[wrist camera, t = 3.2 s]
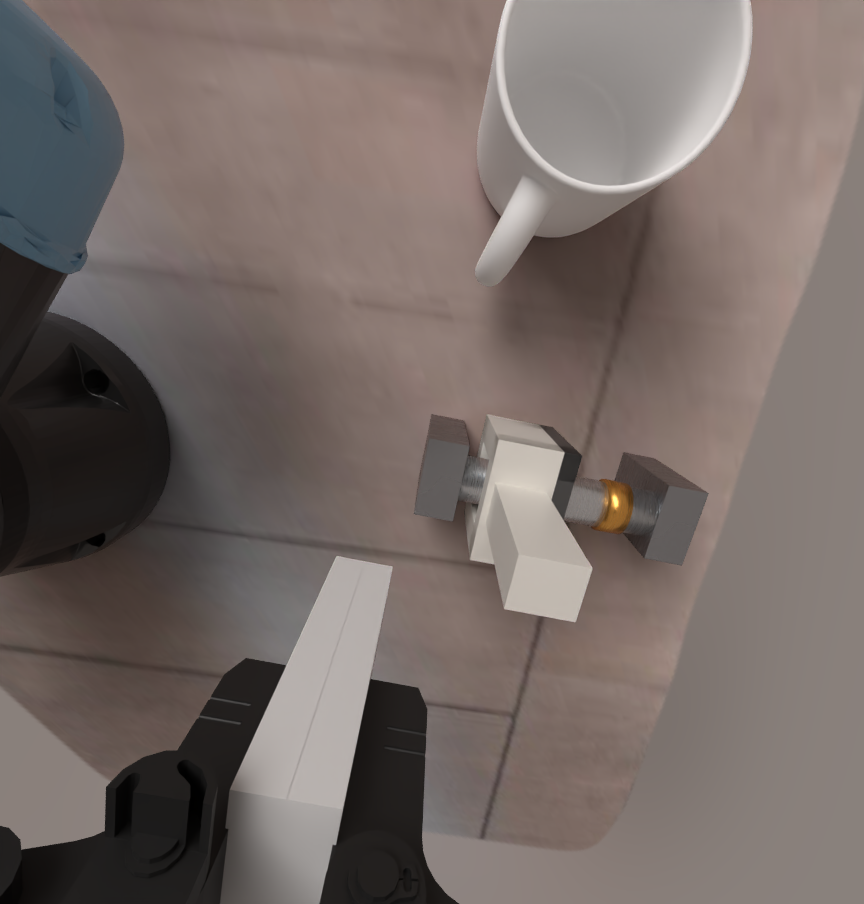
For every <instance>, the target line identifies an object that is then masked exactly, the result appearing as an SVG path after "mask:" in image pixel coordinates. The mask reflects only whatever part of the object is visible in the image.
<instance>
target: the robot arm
mask: <svg viewBox="0 0 864 904" xmlns="http://www.w3.org/2000/svg"><path fill="white" fill-rule="evenodd" d="M123 153H124V136H123V129H122V125H121V122H120V118H119V115H118V112H117V110H116V108H115V105H114V103H113V101H112V99H111V97H110V95H109V94H108V92H107V90H106V89H105V87H104V85H103V84H102V82H101V81H100V80H99V78H98V77H97V76H96V75H95V73H94V72H93V71H92V70H91V69H90V67H89V66H88V65H87V64H86V63H85V62H84V61H83V60H82V59H81V58H80V57H79V56H78V55H77V54H76V53H75V52H74V51H73V50H72V49H71V48H70V47H69V46H68V45H67V44H66V43H65V42H64V41H63V40H62V39H61V38H60V37H59V36H58V35H57V34H56V33H55V32H54V31H53V30H52V29H51V28H50V27H49V26H48V25H47V24H46V23H45V22H44V21H43V20H42V19H41V18H40V17H39V16H38V15H37V14H36V13H35V12H34V11H33V10H31V9H30V8H29V7H28V6H27V5H26V4H25V3H24V2H23V1H22V0H0V576H5V575H9V574H14V573H18V572H22V571H27V570H31V569H36V568H40V567H45V566H49V565H53V564H58V563H62V562H67V561H71V560H75V559H79V558H82V557H85V556H88V555H90V554H93V553H95V552H97V551H99V550H101V549H103V548H105V547H107V546H109V545H110V544H112V543H113V542H115V541H116V540H118V539H119V538H121V537H122V536H124V535H125V534H127V533H128V532H130V531H131V530H132V529H134V528H135V527H136V526H138V525H139V524H140V523H141V522H142V521H143V520H144V519H145V518H146V517H147V516H148V515H149V513H150V512H151V511H152V509H153V508H154V507H155V505H156V503H157V502H158V500H159V498H160V496H161V494H162V491H163V489H164V486H165V483H166V479H167V475H168V470H169V461H170V447H169V437H168V431H167V426H166V422H165V419H164V415H163V413H162V410H161V407H160V405H159V403H158V400H157V398H156V396H155V394H154V392H153V390H152V389H151V387H150V385H149V384H148V382H147V380H146V379H145V378H144V376H143V375H142V373H141V372H140V371H139V369H138V368H137V367H136V366H135V365H134V363H133V362H132V361H131V360H130V359H129V358H128V357H127V356H126V355H125V354H124V353H123V352H122V351H121V350H120V349H119V348H118V347H116V346H115V345H114V344H113V343H112V342H110V341H109V340H108V339H106V338H105V337H104V336H102V335H101V334H99V333H98V332H96V331H94V330H93V329H91V328H89V327H87V326H86V325H84V324H81V323H79V322H77V321H75V320H72V319H70V318H67V317H65V316H61V315H58V314H55V313H51V312H47V311H48V309H49V307H50V305H51V304H52V302H53V300H54V298H55V296H56V295H57V293H58V291H59V289H60V288H61V286H62V284H63V282H64V280H65V279H66V277H67V275H68V274H72V273H74V272H77V271H80V270H81V268H82V267H83V266H84V264H85V262H86V260H87V257H88V254H87V248H86V242H87V240H88V238H89V236H90V233H91V231H92V229H93V227H94V225H95V222H96V220H97V218H98V216H99V214H100V211H101V209H102V207H103V205H104V203H105V201H106V198H107V196H108V194H109V192H110V190H111V187H112V185H113V183H114V181H115V179H116V177H117V174H118V172H119V170H120V167H121V163H122V160H123ZM392 569H393V567H392V566H387V565H382V564H377V563H371V562H366V561H361V560H356V559H350V558H345V557H340V556H336V558H335V560H334V562H333V565H332V567H331V569H330V571H329V573H328V576H327V578H326V580H325V582H324V584H323V587H322V589H321V591H320V593H319V595H318V597H317V600H316V602H315V604H314V606H313V608H312V611H311V613H310V615H309V617H308V619H307V622H306V624H305V626H304V628H303V630H302V632H301V635H300V637H299V639H298V641H297V643H296V646H295V648H294V650H293V652H292V654H291V657H290V659H289V661H288V663H287V665H281V664H275V663H270V662H264V661H259V660H254V659H248V658H246V659H244V660H243V661H242V662H240V663H239V664H238V665H236V666H235V667H234V668H232V669H231V670H230V671H228V672H227V673H226V674H225V675H224V676H223V678H222V679H221V681H220V683H219V684H218V686H217V687H216V689H215V691H214V692H213V694H212V696H211V699H210V700H208V702H207V704H206V705H205V707H204V708H203V710H202V712H201V713H200V716H199V719H197V720H196V721H195V723H194V725H193V726H192V728H191V729H190V731H189V733H188V734H187V736H186V737H185V739H184V741H183V742H182V744H181V745H180V747H179V749H178V750H177V751H163V752H160V753H156V754H153V755H149V756H146V757H143V758H142V759H140V760H138V761H137V762H135V763H133V764H132V765H130V766H128V767H126V768H125V769H123V770H122V771H121V772H120V773H119V774H118V775H117V776H116V777H115V778H114V779H113V780H112V781H111V782H110V784H109V785H108V786H107V787H106V810H105V811H106V812H105V813H106V814H105V831H104V832H102V833H100V834H97V835H95V836H92V837H89V838H85V839H81V840H77V841H73V842H67V843H60V844H54V845H48V846H42V847H36V848H30V849H23V850H21V842H20V839H19V838H18V837H17V836H16V835H15V834H14V833H13V832H12V831H11V830H10V829H9V828H6V827H2V826H0V904H459V903H457V902H456V901H455V900H453V899H452V898H451V897H449V896H448V895H447V894H446V893H445V892H444V891H443V889H442V888H441V887H440V886H439V885H438V884H437V882H436V881H435V879H434V878H433V876H432V874H431V872H430V870H429V868H428V866H427V863H426V860H425V857H424V853H423V845H422V823H423V799H424V775H425V751H426V728H427V707H426V705H425V703H424V700H423V698H422V696H421V693H420V691H419V689H418V688H416V687H411V686H405V685H400V684H394V683H389V682H383V681H378V680H373V679H371V675H372V670H373V665H374V661H375V656H376V651H377V646H378V640H379V635H380V630H381V625H382V620H383V615H384V610H385V605H386V600H387V594H388V589H389V584H390V579H391V574H392Z"/></svg>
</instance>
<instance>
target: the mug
mask: <svg viewBox="0 0 864 904" xmlns="http://www.w3.org/2000/svg"><path fill="white" fill-rule="evenodd" d="M751 46H752V10H751V2H750V0H507V1H506V4H505V7H504V10H503V13H502V17H501V21H500V26H499V31H498V35H497V40H496V45H495V50H494V56H493V61H492V66H491V71H490V76H489V81H488V86H487V91H486V96H485V101H484V106H483V112H482V117H481V122H480V127H479V132H478V141H477V164H478V171H479V176H480V180H481V184H482V186H483V189H484V191H485V194H486V196H487V198H488V199H489V201H490V203H491V205H492V206H493V207H494V209H495V210H496V211H497V213H498V214H499V215H500V216H501V218H500V220H499V222H498V224H497V226H496V228H495V230H494V231H493V233H492V235H491V237H490V239H489V241H488V243H487V245H486V247H485V249H484V251H483V253H482V255H481V257H480V259H479V261H478V263H477V266H476V269H475V277H476V279H477V281H478V282H479V283H480V284H481V285H483V286H486V287H493V286H495V285H497V284H499V283H500V282H501V281H502V280H503V278H504V277H505V276H506V275H507V274H508V272H509V271H510V270H511V268H512V267H513V266H514V264H515V263H516V261H517V260H518V258H519V257H520V256H521V254H522V253H523V251H524V250H525V248H526V247H527V245H528V243H529V242H530V240H531V239H532V237H533V236H534V235H535V236H539V237H548V238H551V237H564V236H569V235H573V234H576V233H579V232H582V231H584V230H586V229H588V228H590V227H592V226H594V225H596V224H597V223H599V222H601V221H602V220H604V219H605V218H607V217H609V216H610V215H612V214H613V213H615V212H617V211H618V210H620V209H622V208H623V207H625V206H626V205H628V204H630V203H631V202H633V201H634V200H636V199H638V198H639V197H641V196H643V195H644V194H646V193H647V192H649V191H651V190H652V189H654V188H655V187H657V186H659V185H660V184H662V183H663V182H665V181H667V180H668V179H670V178H671V177H673V176H674V175H676V174H678V173H679V172H681V171H682V170H684V169H685V168H686V167H687V166H688V165H690V164H691V163H692V162H693V161H694V160H696V159H697V158H698V157H699V156H700V155H701V154H702V153H703V152H704V151H705V149H706V148H707V147H708V146H709V145H710V144H711V143H712V141H713V140H714V139H715V137H716V136H717V135H718V134H719V132H720V131H721V129H722V128H723V126H724V124H725V123H726V121H727V119H728V118H729V116H730V114H731V112H732V110H733V108H734V106H735V104H736V102H737V99H738V97H739V95H740V92H741V89H742V86H743V83H744V80H745V77H746V74H747V69H748V65H749V60H750V55H751Z"/></svg>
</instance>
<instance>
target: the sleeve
mask: <svg viewBox="0 0 864 904" xmlns="http://www.w3.org/2000/svg"><path fill="white" fill-rule="evenodd" d="M477 457H480V458H485V459H489V463H488V468H487V472H486V476H485V480H484V484H483V488H482V493H481V497H480V501H479V504H474V503H469V502H466V506H465V511H464V514H465V523H466V531H467V540H468V548H469V557H470V560H474V561H479V562H484V563H490V564H494V565H495V569H496V574H497V579H498V583H499V588H500V592H501V597H502V602H503V606H504V609H507V610H512V611H517V612H523V613H528V614H534V615H539V616H544V617H550V618H555V619H560V620H566V621H571V622H576V619H577V616H578V613H579V610H580V607H581V604H582V601H583V597H584V594H585V591H586V588H587V585H588V582H589V578H590V575H591V572H592V569H593V568H592V566H591V565H590V563H589V561H588V560H587V558H586V557H585V555H584V553H583V552H582V550H581V548H580V547H579V545H578V543H577V542H576V540H575V538H574V537H573V535H572V534H571V532H570V530H569V529H568V527H567V525H566V524H565V522H564V517H565V513H566V510H567V506H568V503H569V499H570V496H571V493H572V489H573V486H574V482H575V479H576V475H577V472H578V468H579V465H580V462H581V458H582V455H581V454H580V453H579V452H578V451H577V450H575V449H574V448H573V447H572V446H571V445H570V444H569V443H568V442H567V441H566V440H565V439H564V438H563V437H562V436H561V435H560V434H559V433H558V432H557V431H556V430H555V429H554V428H553V427H548V426H543V425H538V424H533V423H528V422H523V421H518V420H513V419H508V418H503V417H498V416H493V415H488V414H487V415H486V420H485V424H484V428H483V433H482V437H481V441H480V446H479V450H478V454H477Z"/></svg>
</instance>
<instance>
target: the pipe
mask: <svg viewBox="0 0 864 904" xmlns="http://www.w3.org/2000/svg"><path fill="white" fill-rule="evenodd" d="M469 447H470V445H469V441H468V436H467V432H466V427H465V423H464V421H463V420H458V419H453V418H448V417H443V416H438V415H433V414H432V415H431V420H430V425H429V430H428V435H427V440H426V445H425V450H424V455H423V460H422V465H421V470H420V475H419V482H418V489H417V496H416V503H415V510H414V514H416V515H421V516H426V517H432V518H437V519H442V520H447V521H453V518H454V514H455V509H456V505H457V501H463V502H469V503H474V504H479V501H480V497H481V493H482V488H483V484H484V480H485V476H486V472H487V468H488V463H489V459H485V458H480V457H475V456H470V455H468V452H469ZM708 494H709V493H707V492H706V491H704V490H703V489H701V488H699V487H698V486H696V485H695V484H693V483H692V482H690V481H689V480H687V479H686V478H684V477H683V476H681V475H679V474H678V473H676V472H675V471H673V470H672V469H670V468H669V467H667V466H666V465H664V464H662V463H661V462H659V461H658V460H656V459H654V458H649V457H644V456H639V455H634V454H629V453H623V456H622V459H621V462H620V466H619V469H618V472H617V475H616V478H615V481H612V480H607V479H601V480H599V481H597V480H592V479H587V478H582V477H577V476H576V479H575V482H574V486H573V489H572V493H571V496H570V499H569V503H568V506H567V510H566V513H565V517H564V521H567V522H572V523H577V524H583V525H588V526H591V528H592V529H594V530H598V531H604V532H609V533H614V534H621V533H623V534H624V535H625V536H626V537H627V539H628V540H629V541H630V542H631V543H632V544H633V546H634V547H635V548H636V549H637V550H638V552H639V553H640V554H641V555H642V556H643V557H644V558H646V559H651V560H656V561H661V562H667V563H672V564H677V565H682V564H683V561H684V558H685V556H686V553H687V550H688V548H689V545H690V542H691V539H692V537H693V534H694V531H695V529H696V526H697V523H698V521H699V518H700V515H701V512H702V510H703V507H704V504H705V502H706V499H707V496H708Z"/></svg>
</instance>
